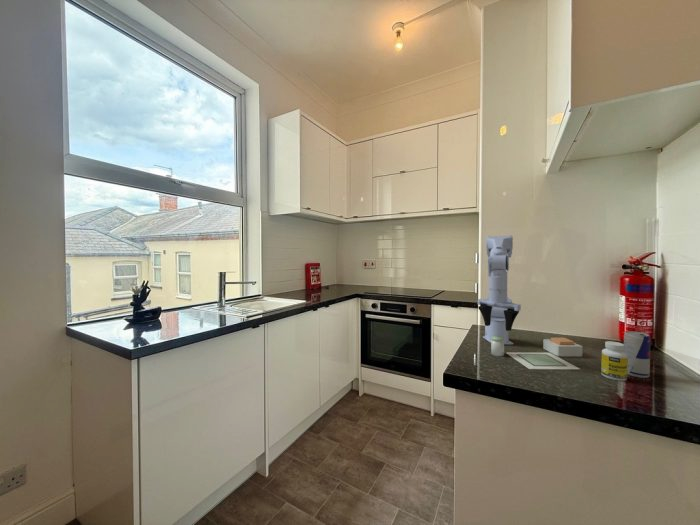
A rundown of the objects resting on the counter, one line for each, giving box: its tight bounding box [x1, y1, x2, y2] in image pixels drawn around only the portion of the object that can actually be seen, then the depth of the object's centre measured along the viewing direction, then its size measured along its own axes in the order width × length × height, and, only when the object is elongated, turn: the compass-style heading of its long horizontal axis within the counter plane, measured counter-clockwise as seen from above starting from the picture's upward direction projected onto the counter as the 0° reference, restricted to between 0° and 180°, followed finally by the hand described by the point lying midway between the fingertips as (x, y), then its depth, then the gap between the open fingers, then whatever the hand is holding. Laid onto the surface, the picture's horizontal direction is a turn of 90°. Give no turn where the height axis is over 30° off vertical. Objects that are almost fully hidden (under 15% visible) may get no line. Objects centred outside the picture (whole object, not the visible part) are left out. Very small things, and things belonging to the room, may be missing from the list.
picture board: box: [505, 352, 581, 371], centre depth 93 cm, size 14×15×1 cm
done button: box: [550, 337, 575, 345], centre depth 100 cm, size 5×5×2 cm
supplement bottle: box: [600, 340, 628, 382], centre depth 80 cm, size 5×5×10 cm
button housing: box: [542, 338, 584, 358], centre depth 100 cm, size 8×8×4 cm
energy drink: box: [623, 330, 651, 379], centre depth 81 cm, size 5×5×12 cm
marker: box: [490, 336, 505, 357], centre depth 99 cm, size 4×4×6 cm
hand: (497, 327), depth 99 cm, fingers open, 7 cm apart
